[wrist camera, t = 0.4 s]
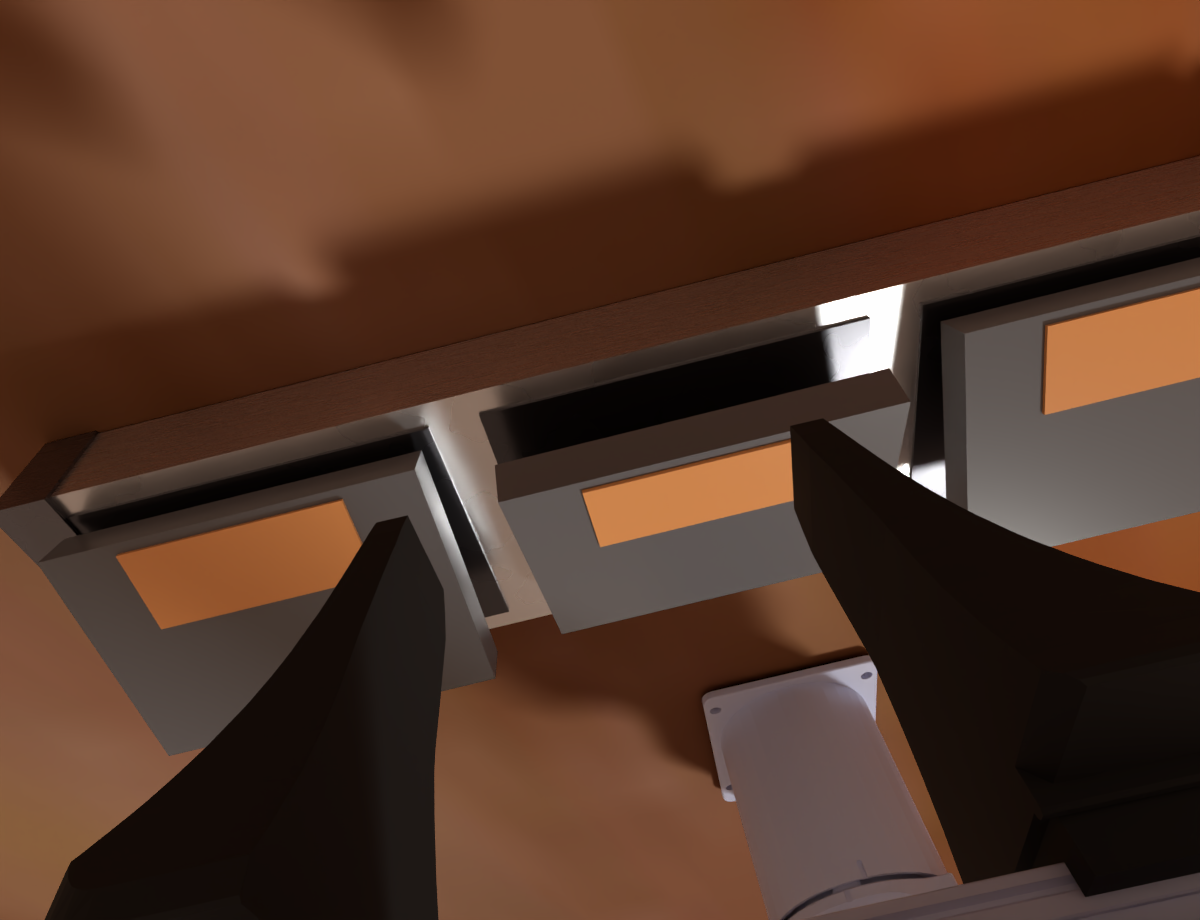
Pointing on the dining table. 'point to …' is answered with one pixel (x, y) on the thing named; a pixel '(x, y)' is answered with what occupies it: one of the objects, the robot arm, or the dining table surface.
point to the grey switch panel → (620, 374)
